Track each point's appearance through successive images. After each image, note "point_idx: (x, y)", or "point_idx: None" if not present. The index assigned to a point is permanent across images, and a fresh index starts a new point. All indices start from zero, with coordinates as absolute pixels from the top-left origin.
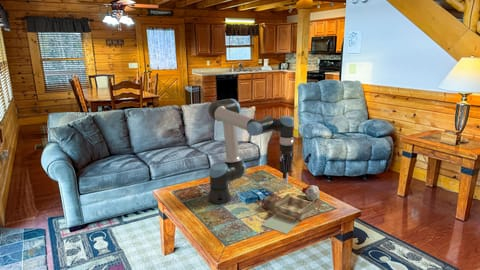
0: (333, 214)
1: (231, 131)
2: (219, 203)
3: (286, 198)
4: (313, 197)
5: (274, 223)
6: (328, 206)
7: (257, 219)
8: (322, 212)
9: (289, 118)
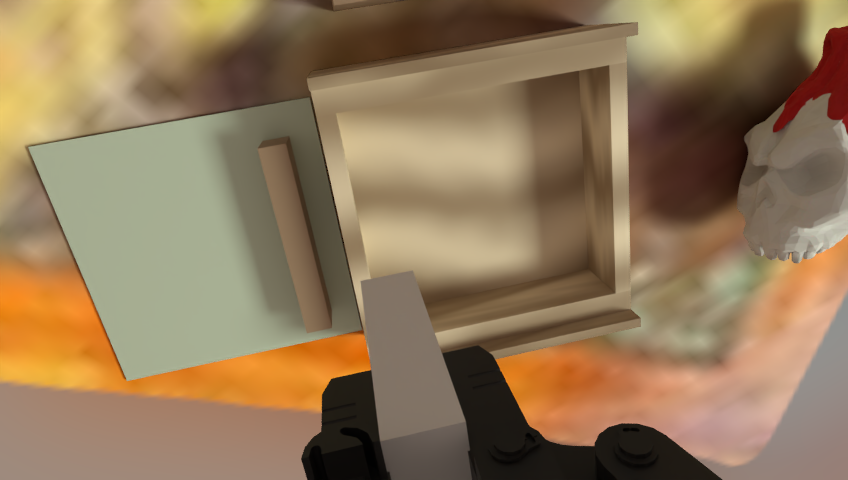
0: (623, 405)
1: None
2: None
3: (545, 63)
4: (751, 215)
5: (157, 216)
6: (719, 316)
7: (67, 38)
8: (604, 344)
9: None
